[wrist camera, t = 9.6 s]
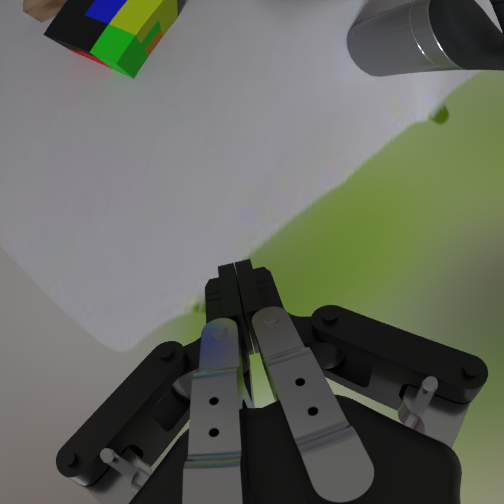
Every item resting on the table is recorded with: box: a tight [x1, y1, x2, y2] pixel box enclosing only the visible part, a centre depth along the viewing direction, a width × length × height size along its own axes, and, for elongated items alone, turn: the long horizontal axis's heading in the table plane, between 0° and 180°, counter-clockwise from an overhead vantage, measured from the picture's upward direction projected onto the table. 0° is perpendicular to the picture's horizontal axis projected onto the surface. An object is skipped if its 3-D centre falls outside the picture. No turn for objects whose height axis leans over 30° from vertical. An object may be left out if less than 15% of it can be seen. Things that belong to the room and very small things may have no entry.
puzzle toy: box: [44, 0, 178, 79], centre depth 23 cm, size 10×10×10 cm
